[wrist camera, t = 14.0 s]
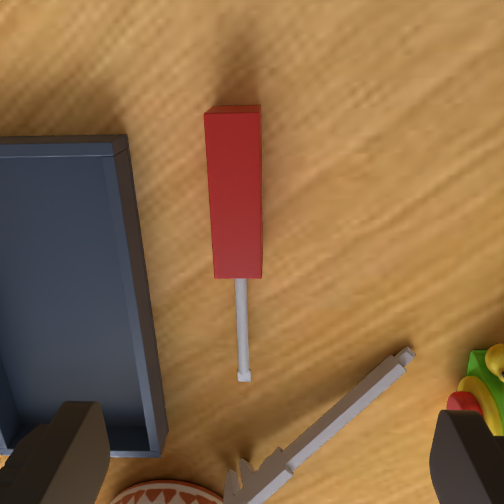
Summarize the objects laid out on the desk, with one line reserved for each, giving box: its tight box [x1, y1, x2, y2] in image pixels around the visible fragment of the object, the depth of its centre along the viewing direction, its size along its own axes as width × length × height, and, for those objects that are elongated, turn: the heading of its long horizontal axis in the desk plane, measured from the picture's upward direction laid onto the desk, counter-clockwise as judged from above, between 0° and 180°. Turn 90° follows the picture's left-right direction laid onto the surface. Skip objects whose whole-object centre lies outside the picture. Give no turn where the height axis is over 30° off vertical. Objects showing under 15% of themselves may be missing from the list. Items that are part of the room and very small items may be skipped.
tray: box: [0, 134, 168, 458], centre depth 31 cm, size 26×14×3 cm, turn 1°
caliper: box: [223, 346, 416, 504], centre depth 34 cm, size 20×1×6 cm, turn 135°
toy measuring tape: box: [447, 343, 504, 436], centre depth 33 cm, size 6×19×7 cm, turn 4°
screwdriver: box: [204, 105, 263, 382], centre depth 28 cm, size 20×3×4 cm, turn 1°
